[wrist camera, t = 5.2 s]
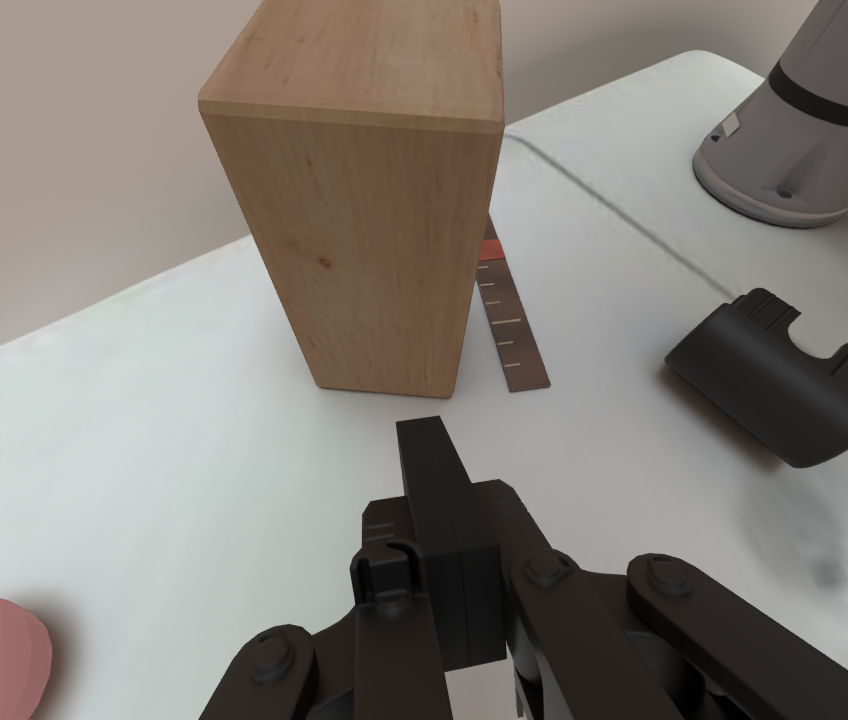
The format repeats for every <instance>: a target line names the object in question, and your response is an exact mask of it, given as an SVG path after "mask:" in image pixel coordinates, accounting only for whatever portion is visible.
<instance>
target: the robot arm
mask: <svg viewBox="0 0 848 720" xmlns="http://www.w3.org/2000/svg"><path fill="white" fill-rule="evenodd" d="M693 163H694V170H695V172H696V175H697V177H698V179H699V180H700V181H701V183H702V184H703V185H704V186H705V188H706V189H707V190H708V191H709V192H710V193H711V194H713V195H714V196H715V197H716V198H718V199H719V200H720V201H722V202H723V203H725V204H726V205H728V206H730V207H731V208H733V209H735V210H737V211H739V212H741V213H743V214H745V215H748V216H750V217H753V218H755V219H758V220H761V221H765V222H768V223H772V224H777V225H782V226H788V227H802V228H806V227H818V226H823V225H826V224H829V223H832V222H834V221H836V220H837V219H839V218H840V217H841V216H842V215H843V214H844V213H845V212H846V211H848V0H819V1H818V3H817V4H816V6H815V7H814V9H813V10H812V12H811V13H810V15H809V16H808V17H807V19H806V20H805V22H804V24H803V25H802V26H801V28H800V29H799V31H798V32H797V34H796V35H795V37H794V38H793V40H792V41H791V43H790V44H789V45H788V47H787V48H786V50H785V51H784V53H783V54H782V56H781V57H780V59H779V60H778V62H777V63H776V65H775V66H774V68H773V69H772V71H771V72H770V74H769V75H768V76H767V78H766V79H765V81H764V82H763V83H762V84H761V85H760V86H759V87H758V88H757V89H756V90H755V91H754V92H753V93H752V94H751V95H750V96H748V97H747V98H746V99H745V100H744V101H743V102H742V103H741V104H740V105H739V106H738V107H737V108H736V109H735V110H733V111H732V112H731V113H730V114H729V115H728V116H727V117H726V118H725V119H724V120H723V121H722V122H721V123H719V124H718V125H717V126H716V127H715V128H714V129H713V130H712V131H711V132H710V133H709V134H708V135H707V137H706V138H705V139H704V141H703V142H702V144H701V146H700V147H699V149H698V150H697V152H696V154H695V156H694V161H693ZM396 428H397V437H398V445H399V453H400V461H401V470H402V478H403V486H404V494H405V496H400V497H394V498H388V499H382V500H375V501H370V503H369V504H368V506H367V507H366V509H365V511H364V512H363V514H362V548H361V549H360V550H359V551H358V552H357V553H356V555H355V556H354V557H353V559H352V562H351V565H350V574H351V580H352V586H353V592H354V598H355V606H354V607H353V608H352V610H351V611H350V612H349V613H348V614H347V615H346V616H345V617H344V618H342V619H341V620H340V621H339V622H337V623H335V624H334V625H332V626H330V627H328V628H326V629H324V630H322V631H320V632H318V633H316V634H314V635H312V636H311V634H310V633H309V632H307V631H306V630H305V629H304V628H303V627H300V626H296V625H291V624H287V625H280V626H274V627H272V628H270V629H268V630H265V631H263V632H261V633H259V634H257V635H256V636H255V637H254V638H252V639H251V640H250V641H249V642H247V643H246V644H245V645H244V646H243V647H242V648H241V650H240V651H239V652H238V654H237V655H236V656H235V657H234V659H233V660H232V662H231V664H230V665H229V667H228V669H227V671H226V672H225V674H224V676H223V678H222V679H221V681H220V683H219V685H218V686H217V688H216V690H215V692H214V693H213V695H212V697H211V699H210V700H209V702H208V704H207V705H206V707H205V709H204V711H203V712H202V714H201V716H200V718H199V719H198V720H453V716H452V710H451V705H450V700H449V695H448V690H447V684H446V679H445V674H444V672H448V671H452V670H457V669H462V668H467V667H471V666H476V665H481V664H486V663H490V662H495V661H500V660H505V659H507V653H506V642H507V644H508V647H509V650H510V652H511V655H512V658H513V661H514V676H515V695H516V708H517V715H518V718H520V717H524V715H523V708H524V711H525V713H526V716H527V719H528V720H848V670H847V669H845V668H844V667H842V666H841V665H839V664H838V663H836V662H835V661H833V660H832V659H831V658H829V657H828V656H826V655H825V654H823V653H822V652H820V651H819V650H817V649H816V648H814V647H813V646H811V645H810V644H808V643H807V642H805V641H804V640H803V639H801V638H800V637H798V636H797V635H795V634H794V633H792V632H791V631H789V630H788V629H786V628H785V627H783V626H782V625H780V624H779V623H777V622H776V621H774V620H773V619H772V618H770V617H769V616H767V615H766V614H764V613H763V612H761V611H760V610H758V609H757V608H755V607H754V606H752V605H751V604H749V603H748V602H746V601H745V600H744V599H742V598H741V597H739V596H738V595H736V594H735V593H733V592H732V591H730V590H729V589H727V588H726V587H724V586H723V585H721V584H720V583H718V582H717V581H715V580H714V579H713V578H711V577H710V576H708V575H707V574H705V573H704V572H702V571H701V570H699V569H698V568H696V567H695V566H693V565H691V564H689V563H687V562H685V561H683V560H681V559H679V558H676V557H672V556H669V555H665V554H653V553H648V554H644V555H639V556H637V557H635V558H634V559H633V560H631V561H630V562H629V565H628V568H627V575H617V574H603V573H595V572H588V571H585V570H582V569H580V567H579V566H578V564H577V563H576V562H575V561H574V560H573V559H571V558H570V557H569V556H568V555H566V554H564V553H562V552H560V551H558V550H555V549H552V547H551V546H550V544H549V543H548V541H547V540H546V538H545V536H544V535H543V533H542V532H541V530H540V529H539V527H538V526H537V524H536V523H535V521H534V519H533V518H532V516H531V515H530V513H529V512H527V509H526V507H525V506H524V504H523V502H521V499H520V498H519V496H518V495H517V493H516V492H515V490H514V489H513V488H512V487H511V486H509V485H508V484H506V483H505V482H503V481H501V480H500V479H497V480H490V481H484V482H478V483H471V481H470V479H469V477H468V475H467V472H466V470H465V468H464V466H463V464H462V462H461V460H460V458H459V456H458V453H457V451H456V449H455V447H454V445H453V443H452V441H451V439H450V437H449V434H448V432H447V430H446V428H445V426H444V424H443V422H442V420H441V418H440V416H433V417H426V418H419V419H412V420H405V421H398V422H396Z"/></svg>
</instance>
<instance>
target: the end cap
mask: <svg viewBox="0 0 848 720" xmlns="http://www.w3.org/2000/svg"><path fill="white" fill-rule="evenodd" d="M800 314H801V312H799V311H798V310H796V309H795V308H794V307H793V306H790V305H789V304H787V303H786V302H784V301H783V300H781V299H780V298H778V297H777V296H776V295H775V294H772V293H770V292H769V291H767V290H766V289H763V288H755V289H753V290H751V291H750V292H749V293H748V294H747V295H741V296H739V297H738V298H737V299H736V300H735V301H733V302H732V303H731V304H728V303H723V304H722V305H720V306H719V307H718V308H717V309H716V310H715V311H713V312H712V313H711V314H710V315H709V316H708V317H707V318H706V319H704V320H703V321H702V322H701V323H700V324H699V325H698V326H697V327H696V328H695V329H693V330H692V331H691V332H690V333H689V334H688V335H687V336H686V337H685V338H684V339H683V340H682V341H681V342H680V343H679V344H678V345H677V346H676V347H675V348H674V349H673V350H672V351H671V352H670V353H669V354H668V355H667V356H666V357H665V359H664V361H665V363H666V364H667V365H668V366H670V367H671V368H672V369H673V370H674V371H676V372H677V373H678V374H679V375H680V376H682V377H683V378H684V379H685V380H687V381H688V382H689V383H690V384H691V385H693V386H694V387H695V388H696V389H698V390H699V391H700V392H701V393H702V394H704V395H705V396H706V397H707V398H708V399H710V400H711V401H712V402H713V403H715V404H716V405H717V406H718V407H719V408H721V409H722V410H723V411H724V412H726V413H727V414H728V415H729V416H730V417H732V418H733V419H734V420H735V421H736V422H738V423H739V424H740V425H741V426H743V427H744V428H745V429H746V430H747V431H749V432H750V433H751V434H752V435H753V436H755V437H756V438H757V439H758V440H760V441H761V442H762V443H763V444H764V445H766V446H767V447H768V448H769V449H771V450H772V451H773V452H774V453H775V454H777V455H778V456H779V457H780V458H781V459H783V460H784V461H785V462H786V463H788V464H789V465H790V466H792V467H794V468H808V467H812V466H815V465H818V464H821V463H823V462H826V461H828V460H830V459H832V458H834V457H836V456H838V455H840V454H841V453H843V452H845V451H847V450H848V343H846V344H844V345H843V346H841V347H840V348H839V349H838V350H837V351H836V352H835V353H834V355H833V356H832V357H831V358H828V359H821V358H816V357H813V356H810V355H808V354H806V353H805V352H803V351H801V350H800V349H799V348H798V347H796V346H795V345H794V343H793V342H792V341H791V339H790V337H789V335H788V327H789V325H790V324H791V323H792V322H793V321H794V320H795V319H796V318H797V317H798V316H799V315H800Z"/></svg>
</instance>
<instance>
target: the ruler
mask: <svg viewBox="0 0 848 720" xmlns="http://www.w3.org/2000/svg"><path fill="white" fill-rule="evenodd" d="M505 258H506V257H505V255H504V252H503V249H502V246H501V244H500V241H499V239H498V237H497V234H496V231H495V229H494V226H493V223H492V220H491V218H490V215H489V212H488V216H487V221H486V226H485V232H484V237H483V242H482V247H481V252H480V258H479V263H478V268H477V273H476V279H477V282H478V286H479V289H480V292H481V296H482V299H483V302H484V306H485V309H486V312H487V315H488V319H489V322H490V325H491V329H492V332H493V335H494V339H495V342H496V345H497V349H498V352H499V355H500V359H501V362H502V365H503V368H504V372H505V375H506V378H507V382H508V385H509V388H510V392H516V391H523V390H530V389H537V388H545V387H550V385H551V384H550V381H549V378H548V375H547V373H546V370H545V367H544V364H543V361H542V359H541V356H540V353H539V350H538V348H537V345H536V342H535V339H534V337H533V334H532V331H531V328H530V326H529V323H528V320H527V317H526V314H525V312H524V309H523V306H522V303H521V301H520V298H519V295H518V292H517V290H516V287H515V284H514V281H513V278H512V276H511V273H510V270H509V267H508V265H507V262H506V259H505Z"/></svg>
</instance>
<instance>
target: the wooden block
mask: <svg viewBox="0 0 848 720" xmlns="http://www.w3.org/2000/svg"><path fill="white" fill-rule="evenodd" d="M502 66H503V65H502V38H501V12H500V5H499V0H263V2H262V3H261V5H260V6H259V7H258V9H257V10H256V12H255V13H254V15H253V16H252V18H251V19H250V20H249V22H248V23H247V25H246V26H245V27H244V29H243V30H242V32H241V33H240V35H239V36H238V37H237V39H236V40H235V42H234V43H233V45H232V46H231V47H230V49H229V50H228V52H227V53H226V55H225V56H224V57H223V59H222V60H221V62H220V64H219V65H218V66H217V67H216V69H215V70H214V72H213V73H212V75H211V76H210V77H209V79H208V80H207V82H206V83H205V85H204V86H203V87H202V89H201V90H200V92H199V93H198V106H199V112H200V114H201V116H202V119H203V121H204V124H205V126H206V128H207V130H208V133H209V135H210V137H211V140H212V142H213V145H214V147H215V149H216V151H217V154H218V156H219V158H220V161H221V163H222V165H223V168H224V170H225V172H226V175H227V177H228V180H229V182H230V184H231V187H232V189H233V191H234V194H235V196H236V198H237V201H238V203H239V205H240V208H241V210H242V212H243V215H244V217H245V219H246V222H247V224H248V226H249V229H250V231H251V233H252V236H253V238H254V240H255V243H256V245H257V247H258V250H259V252H260V254H261V257H262V259H263V261H264V264H265V266H266V268H267V271H268V273H269V275H270V278H271V280H272V282H273V285H274V287H275V289H276V292H277V294H278V296H279V299H280V301H281V303H282V306H283V308H284V310H285V313H286V315H287V317H288V320H289V322H290V324H291V327H292V329H293V331H294V334H295V336H296V338H297V341H298V343H299V345H300V348H301V350H302V352H303V355H304V357H305V359H306V362H307V364H308V366H309V369H310V371H311V373H312V376H313V378H314V381H315V383H316V385H318V386H320V387H323V388H335V389H347V390H359V391H371V392H383V393H395V394H406V395H418V396H430V397H442V398H447V397H451V396H452V394H453V392H454V387H455V382H456V377H457V371H458V366H459V361H460V356H461V351H462V345H463V340H464V335H465V330H466V325H467V320H468V314H469V309H470V304H471V299H472V294H473V289H474V283H475V278H476V273H477V268H478V263H479V258H480V252H481V247H482V242H483V237H484V232H485V226H486V221H487V216H488V211H489V206H490V201H491V195H492V190H493V185H494V180H495V175H496V170H497V164H498V159H499V154H500V149H501V144H502V139H503V133H504V128H505V117H504V92H503V67H502Z"/></svg>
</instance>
